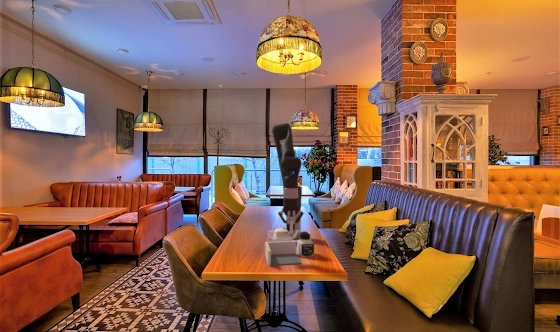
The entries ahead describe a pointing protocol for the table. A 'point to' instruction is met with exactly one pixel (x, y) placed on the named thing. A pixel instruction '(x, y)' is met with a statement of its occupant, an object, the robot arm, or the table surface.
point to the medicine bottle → (305, 245)
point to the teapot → (279, 239)
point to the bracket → (286, 234)
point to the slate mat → (284, 259)
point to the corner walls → (279, 249)
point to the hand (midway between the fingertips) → (290, 230)
